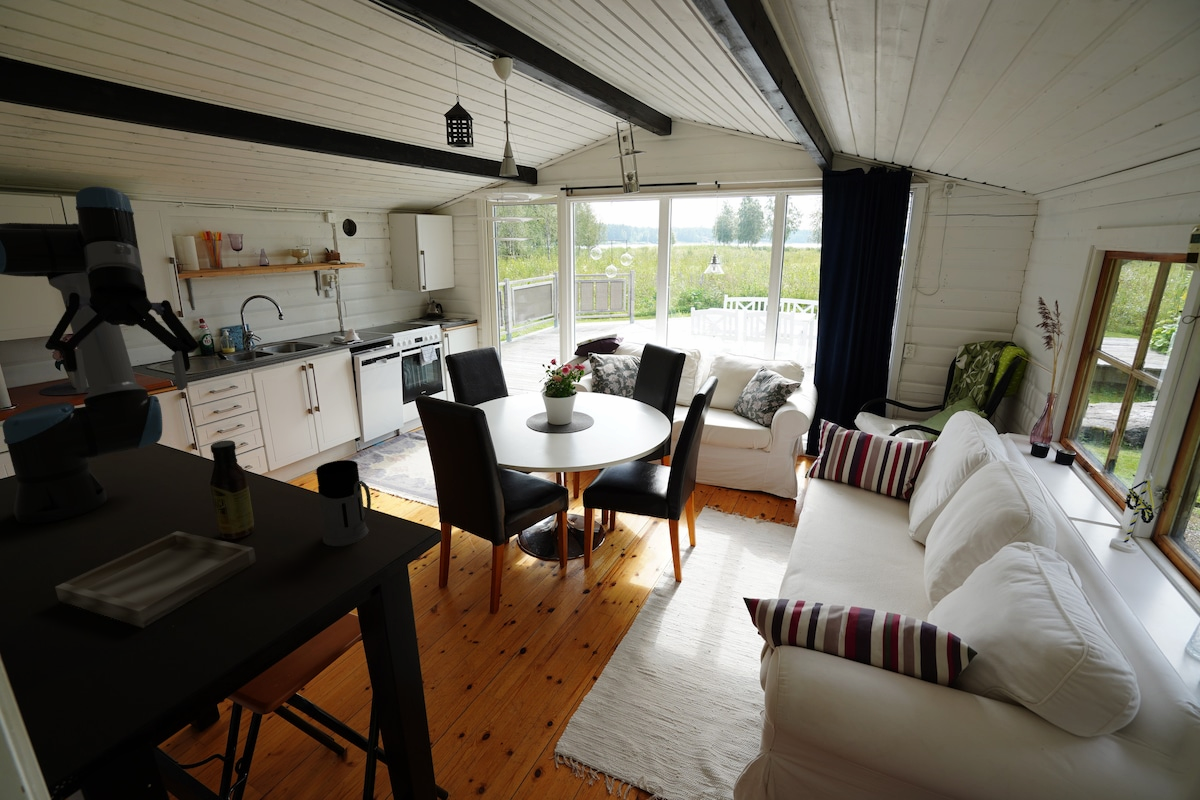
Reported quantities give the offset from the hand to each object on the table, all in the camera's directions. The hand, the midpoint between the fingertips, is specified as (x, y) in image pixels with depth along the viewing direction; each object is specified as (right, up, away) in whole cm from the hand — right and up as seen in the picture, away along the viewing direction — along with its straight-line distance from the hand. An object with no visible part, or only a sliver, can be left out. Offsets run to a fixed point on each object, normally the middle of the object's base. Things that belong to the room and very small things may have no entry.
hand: (135, 389), depth 96 cm
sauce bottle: (+4, -30, +21) cm, 36 cm away
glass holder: (+29, -30, +19) cm, 46 cm away
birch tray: (+1, -34, +4) cm, 34 cm away
